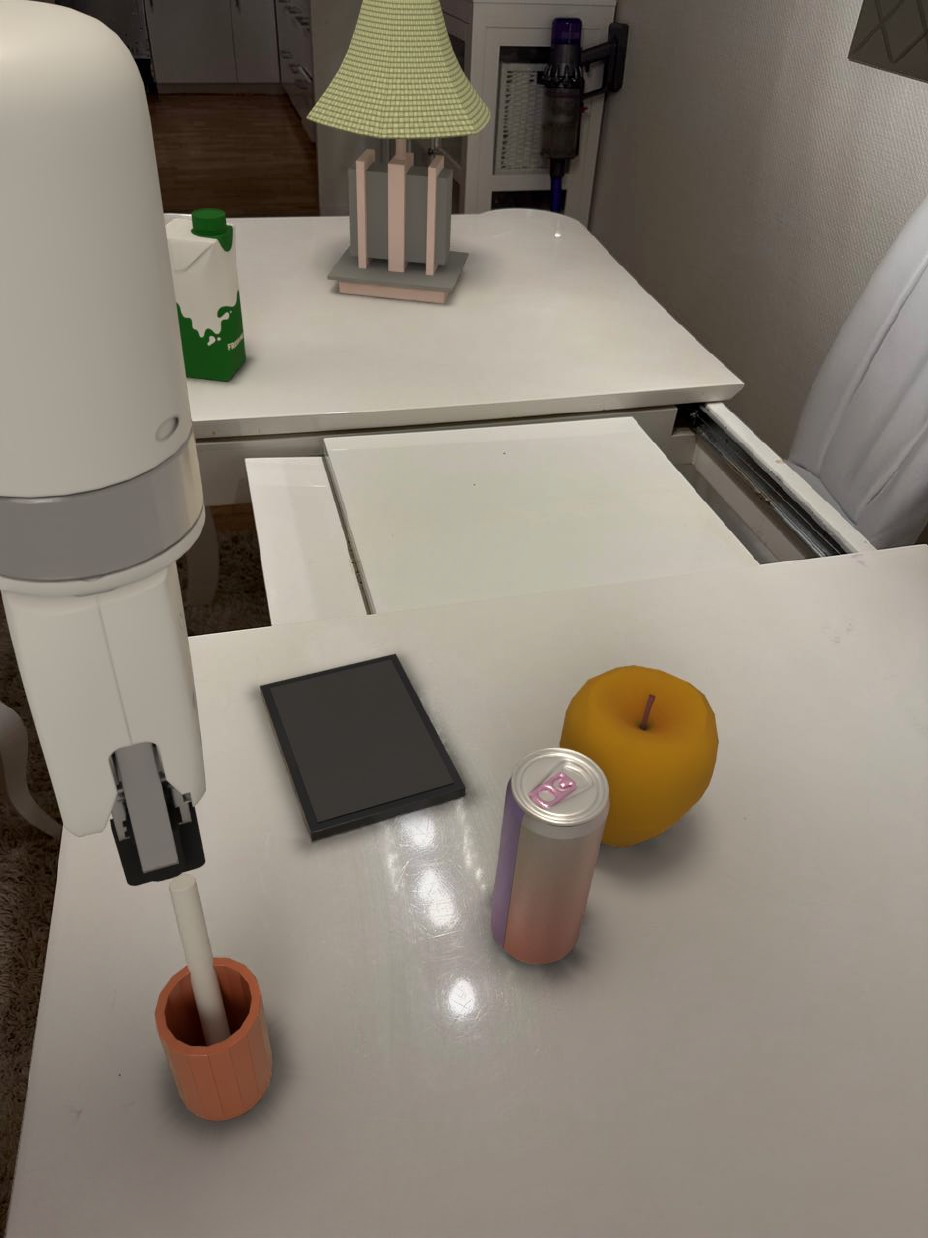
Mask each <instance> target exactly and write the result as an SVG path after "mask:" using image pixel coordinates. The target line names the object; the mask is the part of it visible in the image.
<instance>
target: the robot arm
mask: <svg viewBox="0 0 928 1238" xmlns="http://www.w3.org/2000/svg"><path fill="white" fill-rule="evenodd" d="M144 84H145V83H144V81H143V78H142V76H141V73H140V70H139V67H138V65H137V63H136V61H135V59H134V57H133V55H132V52H131V51H130V49H129V48H128V46H127V45H126V44H125V43H124V41H123V40H122V39H121V38H120V36H119V35H118V34H117V33H116V32H115V31H113V30H112V29H111V28H110V27H108V26H107V25H106V24H105V23H104V22H102V21H101V20H99V19H98V18H95V17H93V16H91V15H89V14H86V13H83V12H81V11H78V10H76V9H73V8H71V7H68V6H63V5H59V4H54V3H49V2H42V1H35V0H0V593H1V600H2V604H3V608H4V613H5V617H6V623H7V627H8V632H9V635H10V639H11V643H12V647H13V650H14V654H15V655H14V656H15V659H16V664H17V667H18V670H19V674H20V677H21V681H22V684H23V688H24V692H25V695H26V700H27V702H28V706H29V709H30V713H31V716H32V721H33V723H34V727H35V730H36V734H37V738H38V740H39V744H40V747H41V750H42V753H43V758H44V761H45V764H46V767H47V770H48V774H49V778H50V781H51V785H52V789H53V791H54V794H55V799H56V802H57V806H58V809H59V813H60V818H61V820H62V825H63V828H64V829H65V830H66V831H67V832H69V833H70V834H72V835H73V836H75V837H78V838H83V837H85V836H91V835H96V834H101V833H103V832H104V831H105V829H106V827H107V826H108V825H107V824H108V822H109V823H110V830H111V833H112V836H113V840H114V844H115V846H116V850H117V853H118V856H119V860H120V864H121V867H122V871H123V873H124V877H125V880H126V883H127V885H128V886H131V887H139V886H141V885H145V884H148V883H152V882H154V883H159V882H164V881H167V880H172V879H174V878H175V877H177V876H180V875H183V873H187V872H190V871H193V870H197V869H200V868H202V867H203V866H204V865H205V864H206V857H205V851H204V846H203V840H202V837H201V831H200V826H199V820H198V815H197V810H196V806H197V805H198V804H199V802H200V801H201V800H202V798H203V797H204V795H205V793H206V791H207V782H206V781H207V780H206V772H205V762H204V752H203V743H202V742H203V741H202V733H201V724H200V715H199V707H198V700H197V690H196V684H195V676H194V668H193V660H192V654H191V648H190V641H189V635H188V628H187V624H186V622H187V621H186V617H185V611H184V603H183V597H182V590H181V584H180V578H179V572H178V566H177V561H178V560H179V559H180V558H182V557H183V555H185V554H186V553H187V552H188V551H189V550H190V549H191V548H192V547H193V545H194V544H195V543H196V541H197V540H198V539H199V537H200V535H201V534H202V531H203V528H204V525H205V523H206V509H205V508H206V507H205V500H204V493H203V485H202V477H201V471H200V470H201V469H200V463H199V456H198V450H197V442H196V433H195V427H194V421H193V418H192V412H191V411H192V410H191V403H190V396H189V389H188V381H187V377H186V373H185V366H184V358H183V351H182V343H181V336H180V328H179V321H178V313H177V306H176V299H175V291H174V284H173V277H172V270H171V263H170V256H169V249H168V241H167V234H166V227H165V226H166V221H165V213H164V207H163V200H162V199H163V198H162V192H161V185H160V177H159V172H158V171H159V170H158V163H157V157H156V156H157V155H156V149H155V142H154V136H153V128H152V121H151V115H150V110H149V105H148V100H147V94H146V89H145V85H144ZM110 816H112V818H110Z"/></svg>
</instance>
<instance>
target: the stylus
mask: <svg viewBox="0 0 928 1238" xmlns="http://www.w3.org/2000/svg"><path fill="white" fill-rule="evenodd" d="M168 890H169V895H170V899H171V903H172V907H173V913H174V916H175V920H176V923H177V928H178V933H179V936H180V941H181V945H182V949H183V953H184V954H183V955H184V958H185V963H186V966H187V967H188V969H189V971H190V972H191V984H192V988H193V992H194V996H195V1001H196V1005H197V1009H198V1013H199V1018H200V1022H201V1026H202V1030H203V1034H204V1039H205V1043H206V1046H207V1047H208V1046H211V1045H214V1044H216V1043H219V1042H222V1041H225V1040H226V1039H228V1038H229V1037H230V1036H231V1035H230V1031H229V1026H228V1022H227V1017H226V1013H225V1008H224V1004H223V999H222V995H221V990H220V986H219V981H218V977H217V974H216V971H215V969H214V967H213V962H214V959H213V957H214V953H213V951H212V946H211V941H210V937H209V931H208V928H207V923H206V919H205V915H204V909H203V905H202V901H201V896H200V892H199V887H198V882H197V878H196V877H195V875H192V874H188V873H185V874H180V875H179V876H177V877H174V878H171V879H170V881H169V883H168Z"/></svg>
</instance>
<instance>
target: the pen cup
mask: <svg viewBox="0 0 928 1238" xmlns="http://www.w3.org/2000/svg"><path fill="white" fill-rule="evenodd" d="M213 959H214V962H213V967H214V969H215V971H216V974H217V977H218V981H219V986H220V990H221V995H222V999H223V1004H224V1008H225V1013H226V1017H227V1022H228V1026H229V1031H230V1035H231V1036H230V1037H229V1038H228V1039H226V1040H225V1041H222V1042H219V1043H216V1044H214V1045H211V1046H208V1047H207V1046H206V1043H205V1039H204V1034H203V1030H202V1026H201V1022H200V1018H199V1013H198V1009H197V1005H196V1001H195V996H194V992H193V988H192V984H191V972H190V971H189V969H188V967H187V965H186V966H184V967H183V968H181V969H179V970H178V971H177V972H176V973H174V974H173V975H172V976H171V977H170V978H169V980H168V982H167V983H166V984H165V985H164V986H163V988H162V990H161V991H160V992H159V995H158V998H157V1002H156V1005H155V1010H154V1019H155V1025H156V1032H157V1034H158V1037H159V1040H160V1043H161V1046H162V1049H163V1052H164V1056H165V1058H166V1061H167V1064H168V1067H169V1069H170V1073H171V1076H172V1079H173V1081H174V1084H175V1088H176V1090H177V1093H178V1095H179V1097H180V1099H181V1101H182V1102H183V1104H184V1106H185V1107H186V1108H187V1109H188V1111H190V1112H191V1113H192V1114H193V1115H195V1116H197V1118H198V1117H199V1118H201V1119H203V1120H207V1121H214V1122H218V1121H219V1122H220V1121H221V1122H222V1121H227V1120H232V1119H235V1118H237V1117H241V1116H243V1114H245V1113H247V1112H249V1111H250V1110H252V1108H254V1107H255V1105H257V1104H258V1103H259V1101H260V1100H261V1099H262V1098H263V1096H264V1095H265V1093H266V1091H267V1090H268V1088H269V1086H270V1083H271V1080H272V1076H273V1070H274V1064H273V1063H274V1062H273V1061H274V1060H273V1059H274V1058H273V1052H272V1047H271V1041H270V1036H269V1030H268V1024H267V1019H266V1014H265V1008H264V1001H263V997H262V993H261V989H260V985H259V982H258V978H257V977H256V976H255V974H254V973H253V972H252V971H251V970H250V969H249V967H248V966H247V965H245V964H244V963H241V962H239V961H237V960H234V959H232V958H230V957H229V958H228V957H215V956H213Z"/></svg>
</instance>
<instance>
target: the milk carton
mask: <svg viewBox="0 0 928 1238" xmlns="http://www.w3.org/2000/svg"><path fill="white" fill-rule="evenodd" d="M190 216H191V219H190V218H189V219H188V218H180V217H175V218H173V219H172V220H170V222H168V223H167V224H165V227H166V234H167V241H168V249H169V256H170V263H171V270H172V277H173V284H174V291H175V299H176V306H177V313H178V321H179V328H180V336H181V343H182V351H183V358H184V366H185V373H186V378H196V379H202V380H203V379H204V380H210V381H212V380H213V381H219V382H230V381H231V379H232V378H233V377H234V375H236V373H237V372H238V370H240V368H241V367H242V365H243V364H244V363H245V361H246V360H247V355H246V344H245V334H244V333H245V332H244V323H243V314H242V313H243V312H242V305H241V295H240V285H239V276H238V275H239V274H238V266H237V244H236V243H237V241H236V239H237V237H236V224H235V222H234V223H233V222H227V217H226V212H225V211H224V210H222V209H219V208H213V207H212V208H209V207H205V208H199V209H196V210H193V211H192V212H191V213H190Z"/></svg>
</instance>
